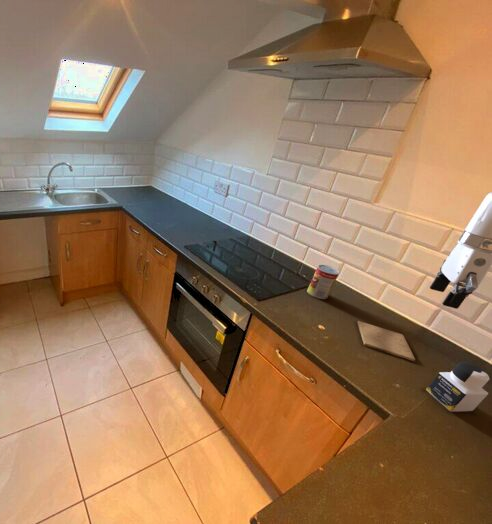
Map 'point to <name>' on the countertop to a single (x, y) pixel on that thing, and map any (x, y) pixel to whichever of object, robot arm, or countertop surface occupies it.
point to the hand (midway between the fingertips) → (442, 298)
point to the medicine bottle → (460, 387)
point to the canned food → (322, 281)
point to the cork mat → (385, 340)
